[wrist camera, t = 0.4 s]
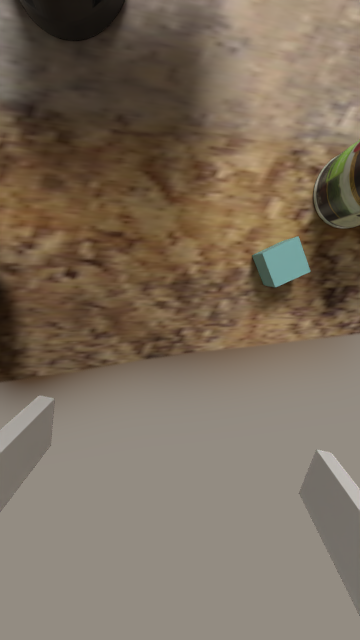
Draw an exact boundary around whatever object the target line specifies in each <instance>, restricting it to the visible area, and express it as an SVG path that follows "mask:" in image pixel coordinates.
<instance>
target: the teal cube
mask: <svg viewBox="0 0 360 640" xmlns="http://www.w3.org/2000/svg"><path fill="white" fill-rule="evenodd" d="M252 257H253V259H254V262H255V264H256V267H257V269H258V272H259V275H260V277H261V280H262V282H263V285H266V286H271V287H278V286H280V285H282V284H284V283H287V282H289V281H291V280H293V279H295V278H298V277H300V276H302V275H304V274H307V273H309V272H311V271H310V268H309V265H308V262H307V260H306V257H305V254H304V251H303V248H302V245H301V242H300V239H299V236H298V237H294V238H291V239H288V240H284V241H282V242H280V243H277V244H275V245H273V246H271V247H269V248H267V249H265V250H262V251H260V252H258V253H256V254H254V255H252Z"/></svg>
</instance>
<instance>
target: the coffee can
mask: <svg viewBox="0 0 360 640" xmlns="http://www.w3.org/2000/svg"><path fill="white" fill-rule="evenodd" d="M313 198H314V205H315V208H316V211H317V213H318V215H319V216H320V217H321V219H322V220H323V221H324V222H326V223H327V224H329V225H331V226H333V227H336V228H353V227H356V226H359V225H360V140H359V141H357V142H356V143H355V144H353V145H352V146H351V147H349V148H348V149H347V150H345V151H344V152H342V153H341V154H340V155H338V156H336V157H335V158H333V159H332V160H331V161H330V162H329V163H328V164H327V165H326V166H325V167H324V168H323V169H322V171H321V172H320V174H319V176H318V178H317V180H316V183H315V187H314V195H313Z"/></svg>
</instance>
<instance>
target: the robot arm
mask: <svg viewBox="0 0 360 640" xmlns="http://www.w3.org/2000/svg"><path fill="white" fill-rule="evenodd" d="M19 1H20V2H21V4H22V6H23V7H24V9H25V10H26V12H27V13H28V15H29V16H30V17H31V18H32V19H33V21H34V22H35V23H36V24H37V25H39V26H40V27H41V28H42V29H44V30H45V31H46V32H48V33H50V34H52V35H54V36H56V37H59V38H62V39H66V40H82V39H86V38H90V37H92V36H94V35H96V34H98V33H100V32H101V31H102V30H104V29H105V28H106V27H107V26H108V25H109V24H110V23H111V22H112V21H113V20H114V18H115V17H116V15H117V14H118V12H119V10H120V9H121V7H122V4H123V2H124V0H19ZM54 402H55V399H54V398H50V397H44V396H38V397H37V398H36V399H35V400H33V401H32V402H31V403H30V404H29V405H28V406H26V407H25V408H24V409H23V410H22V411H21V412H20V413H19V414H17V415H16V416H15V417H14V418H13V419H12V420H10V421H9V422H8V423H7V424H6V425H5V426H4V427H3V428H1V429H0V512H1V510H2V509H3V508H4V506H5V505H6V504H7V502H8V501H9V500H10V499H11V497H12V496H13V495H14V493H15V492H16V491H17V489H18V488H19V487H20V485H21V484H22V483H23V481H24V480H25V479H26V477H27V476H28V475H29V474H30V472H31V471H32V470H33V468H34V467H35V466H36V464H37V463H38V462H39V460H40V459H41V458H42V456H43V455H44V454H45V452H46V451H47V450H48V448H49V447H50V446H51V437H52V425H53V414H54ZM299 494H300V496H301V498H302V500H303V502H304V504H305V507H306V509H307V510H308V512H309V514H310V517H311V519H312V521H313V523H314V525H315V526H316V529H317V531H318V533H319V535H320V537H321V539H322V541H323V543H324V545H325V547H326V549H327V551H328V553H329V555H330V557H331V559H332V561H333V563H334V565H335V567H336V569H337V571H338V573H339V575H340V577H341V579H342V581H343V583H344V585H345V587H346V589H347V591H348V593H349V595H350V597H351V599H352V601H353V603H354V605H355V607H356V610H357V611H358V614H359V616H360V489H359V488H358V486H357V485H356V484H355V482H354V481H353V480H352V479H351V477H350V476H349V475H348V473H347V472H346V471H345V470H344V468H343V467H342V466H341V464H340V463H339V462H338V461H337V459H336V458H335V457H334V455H333V454H332V453H331V452H326V451H321V450H316V452H315V455H314V457H313V459H312V462H311V464H310V467H309V469H308V472H307V474H306V477H305V479H304V482H303V484H302V486H301V489H300V492H299Z"/></svg>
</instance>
